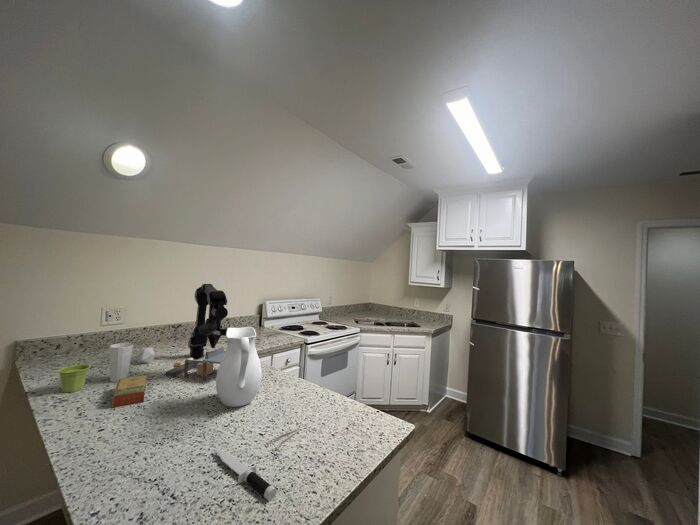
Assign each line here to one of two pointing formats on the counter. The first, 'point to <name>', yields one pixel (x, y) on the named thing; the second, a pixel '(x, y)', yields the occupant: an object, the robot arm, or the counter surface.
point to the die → (145, 355)
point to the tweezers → (281, 438)
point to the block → (208, 368)
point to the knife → (248, 475)
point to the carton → (129, 391)
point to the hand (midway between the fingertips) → (213, 348)
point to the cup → (120, 360)
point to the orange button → (177, 364)
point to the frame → (195, 362)
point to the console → (180, 369)
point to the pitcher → (239, 368)
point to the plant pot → (73, 377)
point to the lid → (215, 356)
